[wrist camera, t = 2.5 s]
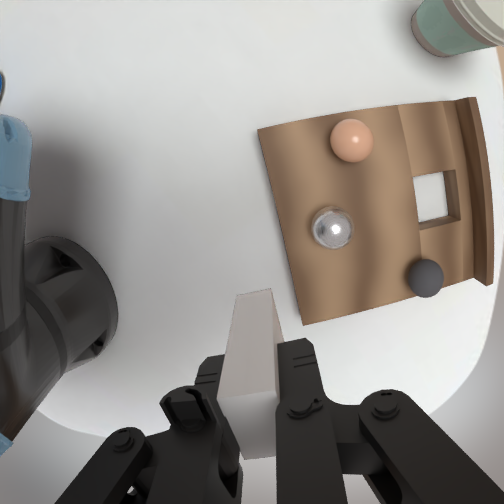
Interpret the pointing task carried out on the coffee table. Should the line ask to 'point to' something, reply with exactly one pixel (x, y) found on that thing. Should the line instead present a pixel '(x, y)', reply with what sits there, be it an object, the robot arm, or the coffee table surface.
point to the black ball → (425, 278)
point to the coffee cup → (459, 25)
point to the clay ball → (352, 140)
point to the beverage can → (0, 84)
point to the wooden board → (382, 204)
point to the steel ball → (332, 228)
